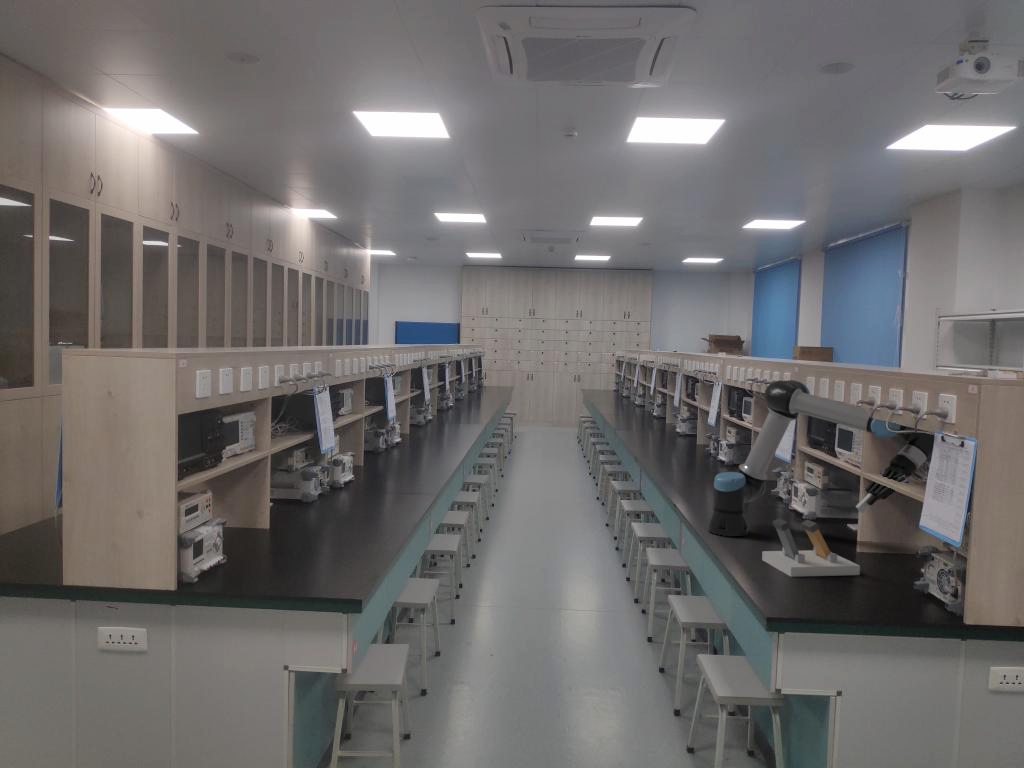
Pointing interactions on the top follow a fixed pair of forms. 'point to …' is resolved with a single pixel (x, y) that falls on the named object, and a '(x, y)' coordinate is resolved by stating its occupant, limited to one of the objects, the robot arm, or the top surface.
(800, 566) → the control panel
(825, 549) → the orange lever
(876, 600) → the top surface
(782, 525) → the grey lever
